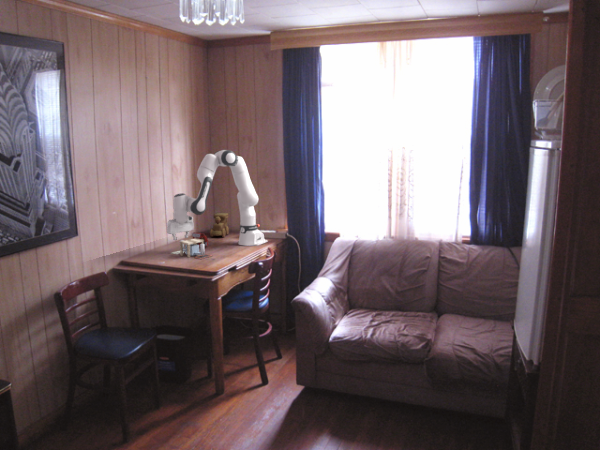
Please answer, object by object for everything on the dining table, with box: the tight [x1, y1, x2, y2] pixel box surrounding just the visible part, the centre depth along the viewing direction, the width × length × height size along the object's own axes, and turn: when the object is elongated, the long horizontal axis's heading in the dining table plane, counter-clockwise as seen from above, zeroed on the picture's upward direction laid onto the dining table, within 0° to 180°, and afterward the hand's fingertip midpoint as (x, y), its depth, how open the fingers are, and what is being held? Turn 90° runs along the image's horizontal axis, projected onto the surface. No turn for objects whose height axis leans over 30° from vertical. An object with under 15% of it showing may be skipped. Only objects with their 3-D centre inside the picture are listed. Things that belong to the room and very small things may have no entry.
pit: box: [194, 253, 213, 260], centre depth 323 cm, size 10×6×1 cm, turn 144°
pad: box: [171, 250, 185, 255], centre depth 336 cm, size 10×6×1 cm, turn 144°
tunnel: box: [179, 238, 203, 259], centre depth 328 cm, size 13×8×10 cm, turn 144°
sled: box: [179, 239, 206, 256], centre depth 328 cm, size 6×23×8 cm, turn 54°
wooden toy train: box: [209, 212, 230, 238], centre depth 390 cm, size 20×11×17 cm, turn 174°
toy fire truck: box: [191, 232, 209, 249], centre depth 350 cm, size 7×12×10 cm, turn 68°
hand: (180, 238), depth 333 cm, fingers open, 8 cm apart
